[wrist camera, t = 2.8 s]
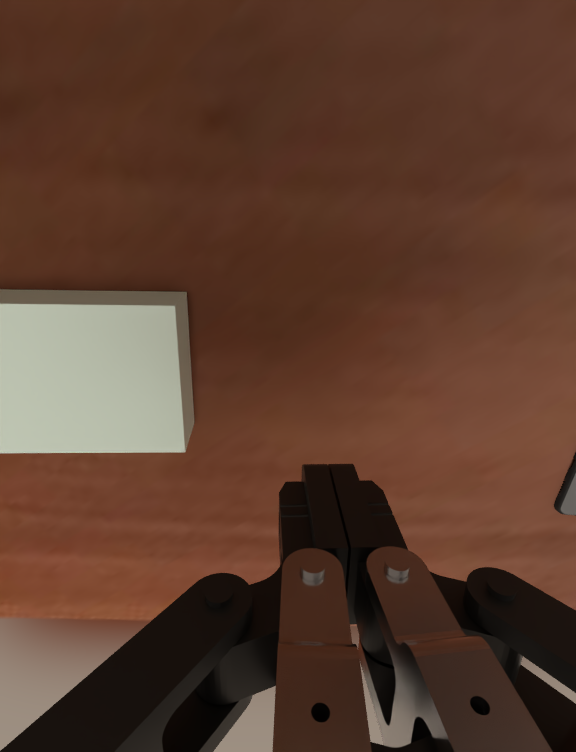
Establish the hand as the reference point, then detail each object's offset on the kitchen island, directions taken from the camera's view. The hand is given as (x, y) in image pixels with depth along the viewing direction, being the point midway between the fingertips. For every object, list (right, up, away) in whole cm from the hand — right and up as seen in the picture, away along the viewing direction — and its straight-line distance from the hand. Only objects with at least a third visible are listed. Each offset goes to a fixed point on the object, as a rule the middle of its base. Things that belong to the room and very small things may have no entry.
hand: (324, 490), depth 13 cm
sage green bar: (-14, +4, +9) cm, 17 cm away
